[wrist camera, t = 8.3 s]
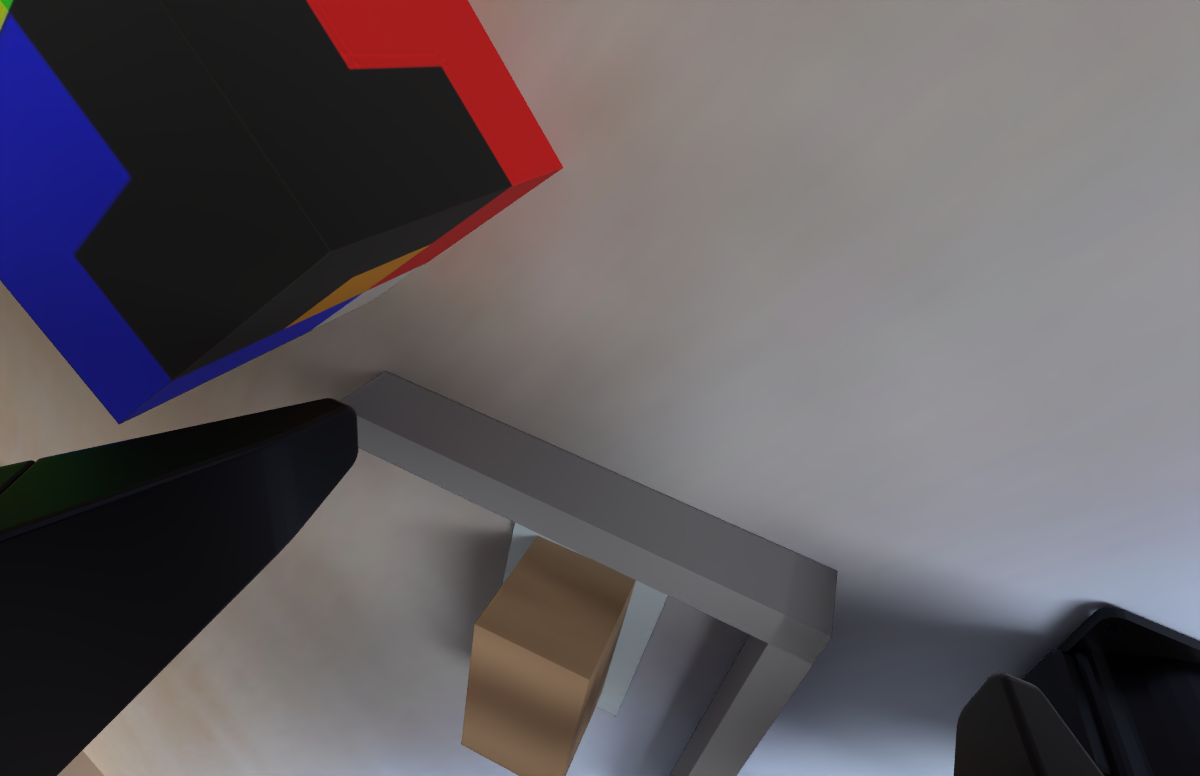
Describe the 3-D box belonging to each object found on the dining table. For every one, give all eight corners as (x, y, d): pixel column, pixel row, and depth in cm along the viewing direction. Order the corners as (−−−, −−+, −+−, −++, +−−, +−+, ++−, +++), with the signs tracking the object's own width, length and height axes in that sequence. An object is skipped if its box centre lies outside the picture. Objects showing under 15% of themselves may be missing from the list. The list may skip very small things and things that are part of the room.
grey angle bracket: (837, 571, 22) (832, 636, 20) (693, 797, 31) (677, 861, 29) (385, 371, 26) (333, 404, 23) (375, 624, 35) (336, 667, 33)
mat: (676, 574, 25) (674, 580, 25) (618, 711, 30) (615, 716, 30) (521, 502, 26) (518, 506, 26) (491, 644, 32) (488, 649, 31)
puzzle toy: (373, 300, 25) (119, 424, 16) (208, 58, 22) (-179, 62, 14) (564, 167, 19) (330, 251, 11) (373, -167, 17) (-93, -368, 9)
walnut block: (601, 692, 30) (556, 795, 25) (517, 651, 31) (461, 744, 27) (636, 578, 25) (589, 680, 21) (537, 535, 26) (474, 624, 22)
